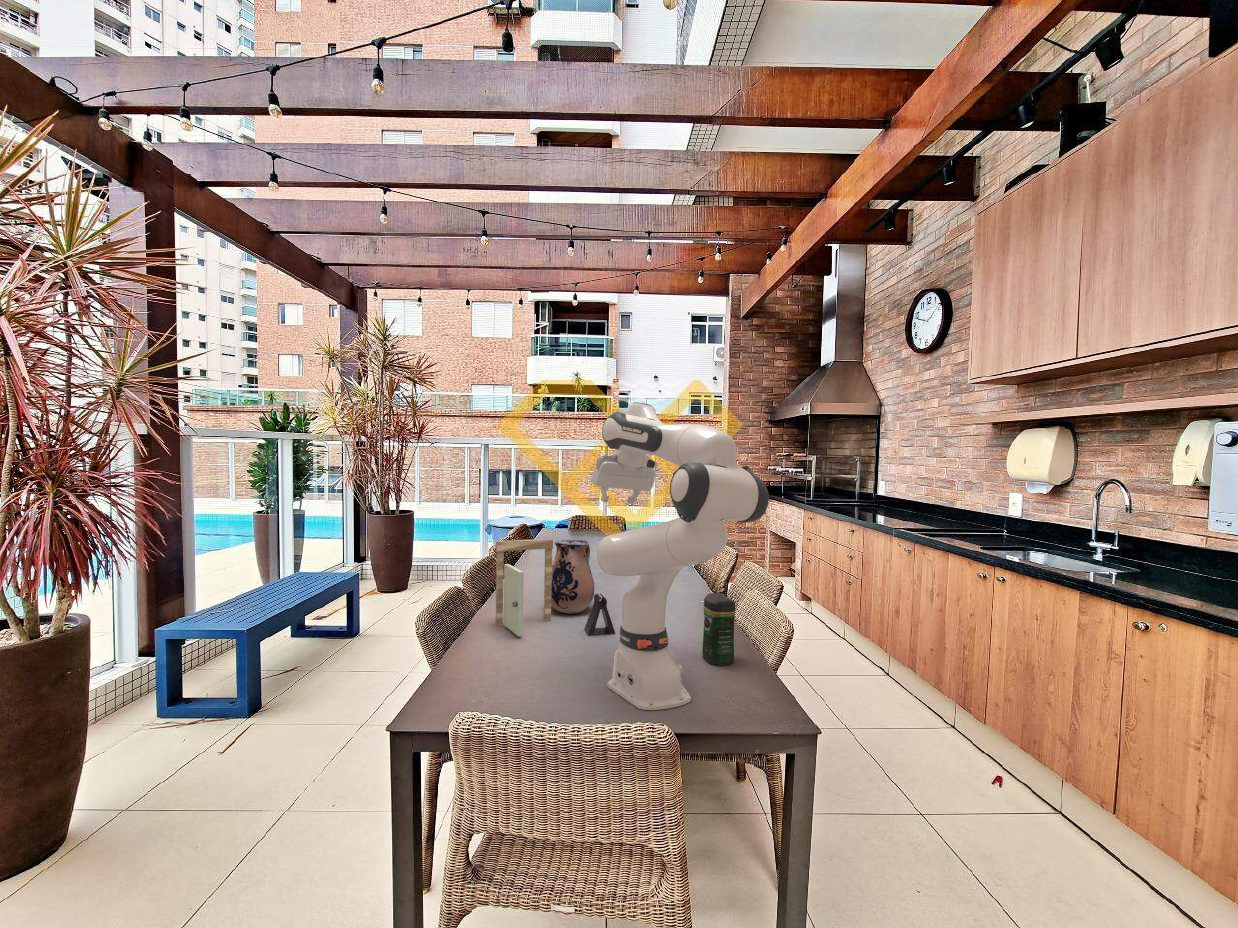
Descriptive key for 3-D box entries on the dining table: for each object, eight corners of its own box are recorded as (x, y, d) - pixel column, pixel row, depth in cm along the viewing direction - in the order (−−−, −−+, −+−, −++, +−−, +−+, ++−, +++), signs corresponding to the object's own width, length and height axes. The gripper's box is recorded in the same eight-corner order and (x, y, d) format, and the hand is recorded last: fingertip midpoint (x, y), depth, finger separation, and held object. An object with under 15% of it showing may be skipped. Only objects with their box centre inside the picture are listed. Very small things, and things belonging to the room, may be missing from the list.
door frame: (551, 620, 192) (553, 539, 191) (495, 626, 185) (497, 542, 184) (549, 618, 194) (551, 538, 193) (494, 624, 187) (495, 540, 186)
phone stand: (610, 628, 186) (611, 592, 185) (615, 634, 180) (616, 597, 179) (584, 629, 183) (585, 593, 183) (587, 636, 178) (588, 598, 177)
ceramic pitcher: (538, 614, 199) (539, 544, 198) (561, 599, 219) (562, 535, 218) (584, 620, 194) (585, 548, 193) (603, 604, 214) (605, 538, 213)
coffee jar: (738, 665, 156) (740, 599, 156) (711, 667, 154) (713, 600, 154) (723, 652, 166) (725, 590, 165) (698, 654, 164) (700, 591, 163)
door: (514, 637, 173) (515, 572, 172) (499, 624, 184) (500, 564, 183) (522, 635, 174) (523, 571, 173) (507, 623, 185) (508, 563, 185)
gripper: (604, 456, 153) (593, 503, 156) (662, 463, 165) (650, 508, 168) (593, 450, 158) (582, 496, 161) (649, 458, 170) (638, 500, 173)
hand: (617, 502), depth 164 cm, fingers open, 8 cm apart
